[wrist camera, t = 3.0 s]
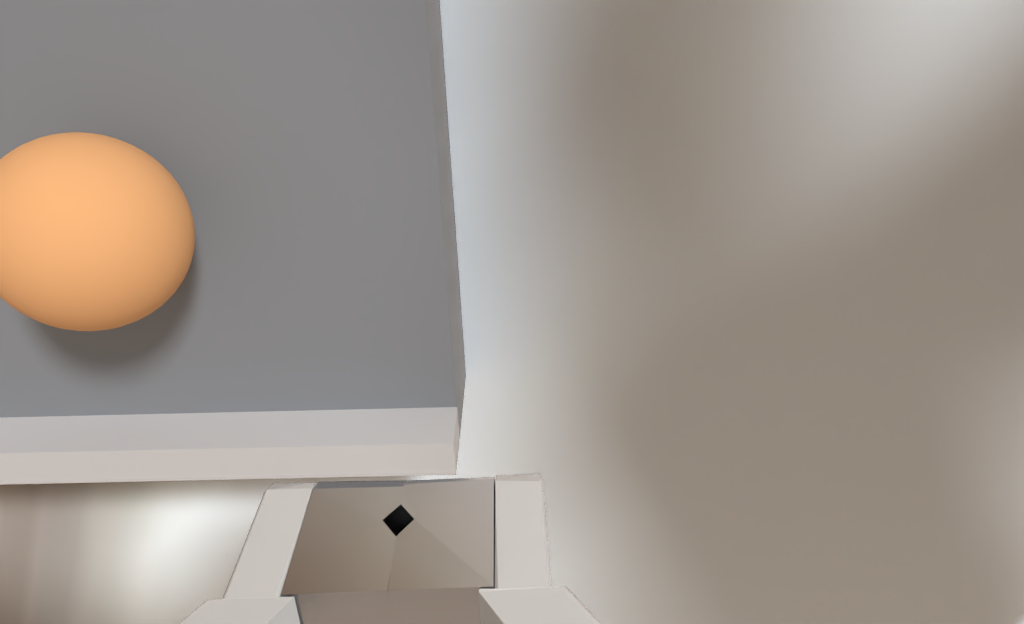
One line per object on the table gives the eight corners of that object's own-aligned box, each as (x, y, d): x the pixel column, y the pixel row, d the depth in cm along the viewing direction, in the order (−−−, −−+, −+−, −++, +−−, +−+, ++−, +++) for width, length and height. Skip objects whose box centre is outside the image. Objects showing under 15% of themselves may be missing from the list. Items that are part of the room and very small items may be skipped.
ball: (199, 106, 16) (113, 166, 13) (237, 275, 18) (172, 366, 15) (13, 112, 16) (-121, 173, 13) (71, 279, 18) (-33, 371, 15)
